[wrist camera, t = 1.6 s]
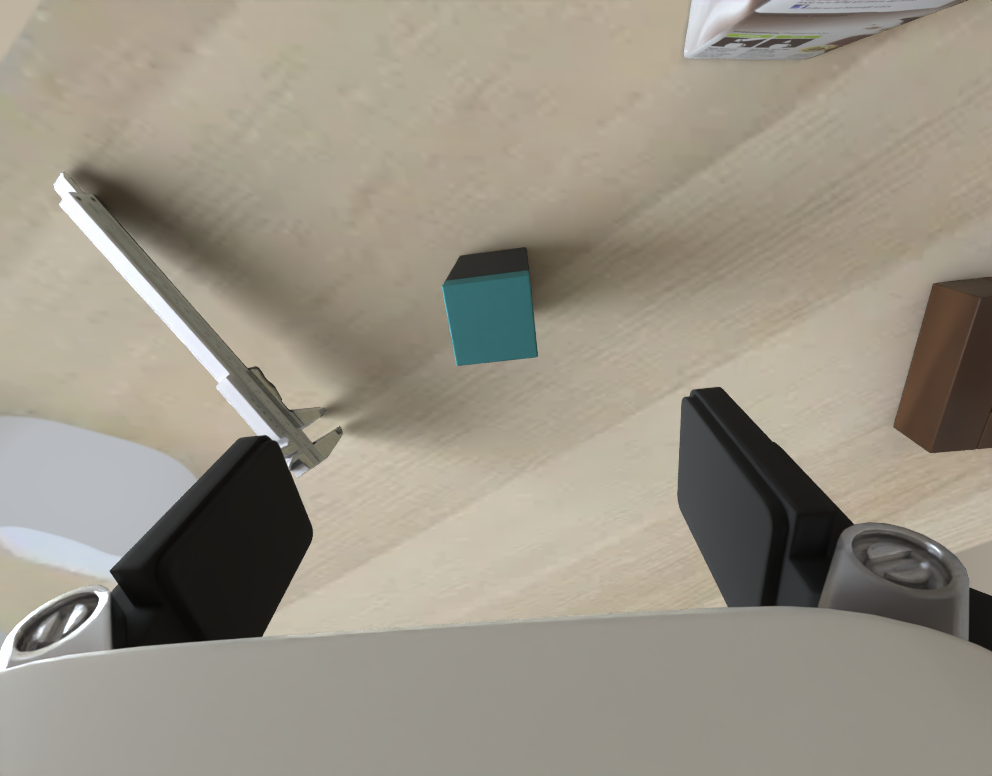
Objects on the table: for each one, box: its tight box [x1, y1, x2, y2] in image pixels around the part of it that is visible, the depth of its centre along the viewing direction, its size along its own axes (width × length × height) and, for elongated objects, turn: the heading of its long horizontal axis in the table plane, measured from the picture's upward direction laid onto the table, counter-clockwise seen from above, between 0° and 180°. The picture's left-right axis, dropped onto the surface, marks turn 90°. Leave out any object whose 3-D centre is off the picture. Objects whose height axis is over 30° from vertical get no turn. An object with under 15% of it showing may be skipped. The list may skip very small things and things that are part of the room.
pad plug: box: [442, 247, 538, 366], centre depth 24 cm, size 4×4×7 cm
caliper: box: [54, 172, 343, 477], centre depth 26 cm, size 20×1×6 cm, turn 39°
